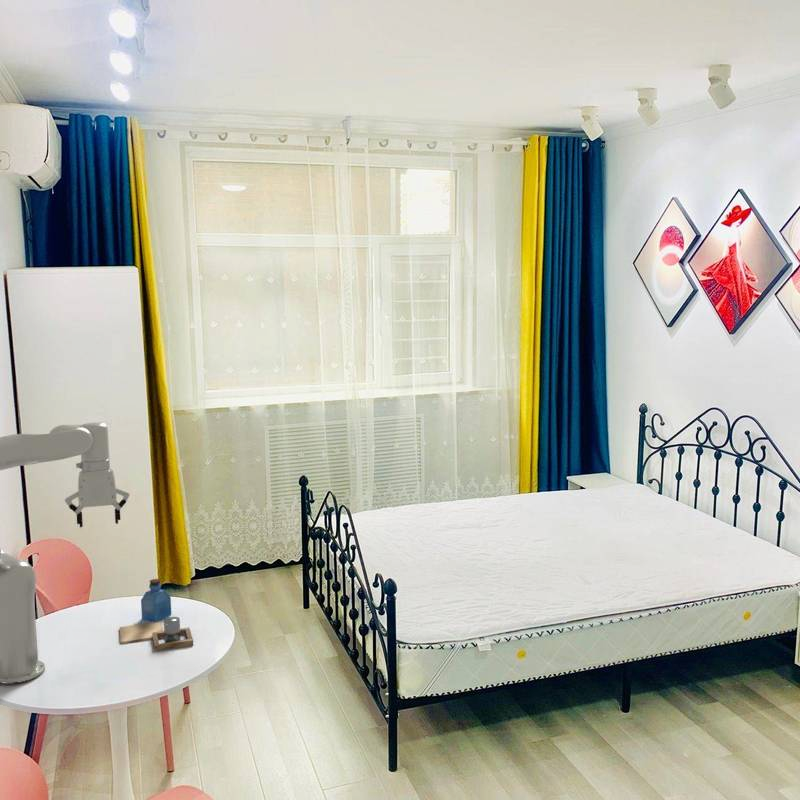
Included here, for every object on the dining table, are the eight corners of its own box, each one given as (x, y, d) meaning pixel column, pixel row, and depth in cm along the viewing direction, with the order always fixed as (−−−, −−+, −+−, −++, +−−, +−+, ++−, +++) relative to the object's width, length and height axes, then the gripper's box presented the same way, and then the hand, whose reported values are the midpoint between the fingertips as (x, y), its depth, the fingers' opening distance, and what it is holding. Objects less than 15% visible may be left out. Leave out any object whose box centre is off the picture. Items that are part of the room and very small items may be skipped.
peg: (165, 645, 228) (164, 623, 227) (164, 640, 232) (163, 618, 231) (181, 643, 229) (180, 621, 229) (179, 637, 234) (178, 615, 233)
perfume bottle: (171, 616, 250) (169, 579, 249) (155, 623, 245) (153, 585, 244) (157, 613, 254) (155, 576, 252) (142, 619, 248) (140, 581, 247)
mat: (120, 644, 230) (120, 641, 230) (119, 629, 241) (119, 627, 241) (164, 637, 234) (164, 635, 234) (161, 623, 245) (161, 621, 245)
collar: (154, 651, 224) (154, 646, 224) (152, 637, 234) (152, 632, 234) (193, 645, 228) (193, 640, 228) (189, 632, 237) (189, 627, 237)
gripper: (62, 470, 224) (66, 530, 226) (128, 465, 230) (131, 524, 232) (63, 466, 231) (67, 524, 233) (127, 461, 237) (130, 518, 239)
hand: (99, 524), depth 232 cm, fingers open, 9 cm apart
